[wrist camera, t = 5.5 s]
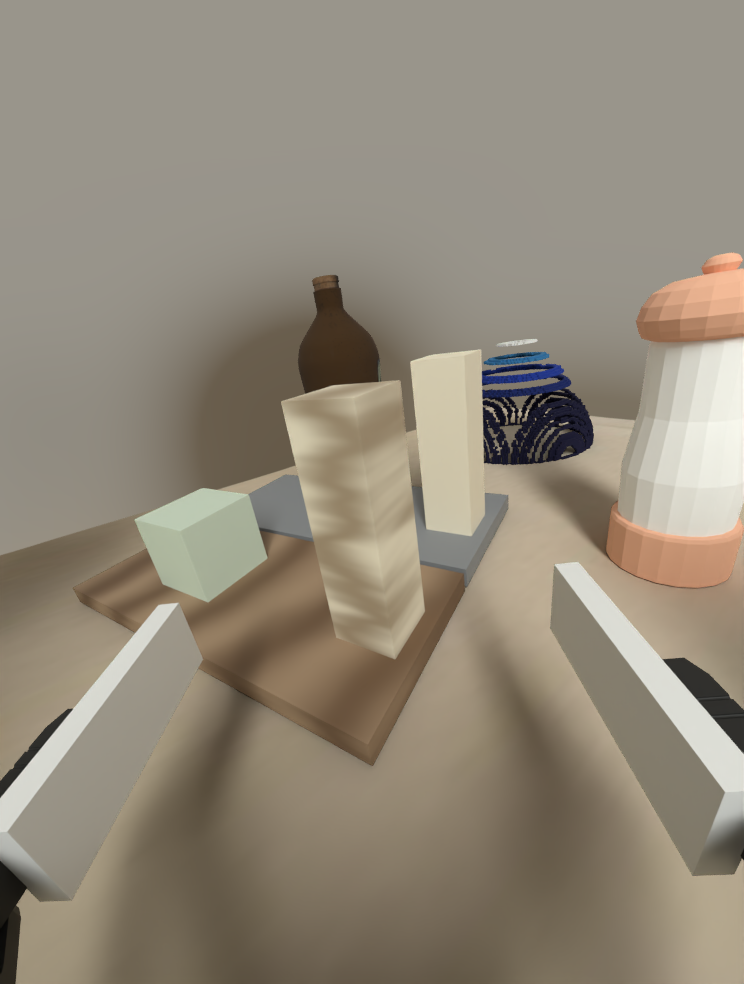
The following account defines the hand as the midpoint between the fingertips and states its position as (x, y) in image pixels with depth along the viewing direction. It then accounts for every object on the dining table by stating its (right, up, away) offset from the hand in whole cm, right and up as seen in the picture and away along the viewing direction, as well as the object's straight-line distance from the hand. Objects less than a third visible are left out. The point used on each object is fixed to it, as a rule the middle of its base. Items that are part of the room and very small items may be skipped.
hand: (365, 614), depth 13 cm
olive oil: (-2, +7, +41) cm, 42 cm away
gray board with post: (-2, +1, +27) cm, 27 cm away
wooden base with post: (-9, -4, +16) cm, 19 cm away
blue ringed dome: (+22, +12, +43) cm, 50 cm away
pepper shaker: (+22, -1, +14) cm, 26 cm away
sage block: (-13, -2, +18) cm, 22 cm away
